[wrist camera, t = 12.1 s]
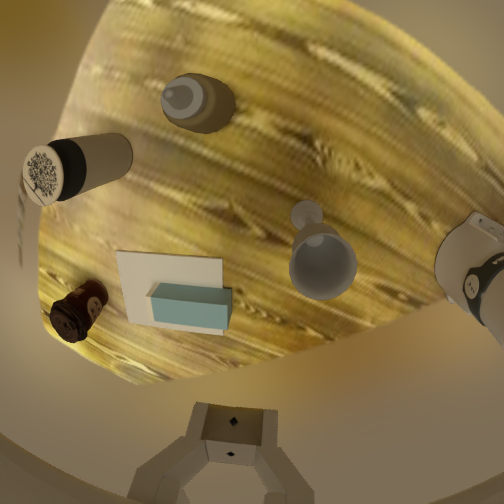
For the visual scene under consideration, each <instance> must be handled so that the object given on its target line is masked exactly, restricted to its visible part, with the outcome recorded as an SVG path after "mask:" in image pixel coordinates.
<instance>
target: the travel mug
mask: <svg viewBox="0 0 504 504" xmlns="http://www.w3.org/2000/svg"><path fill="white" fill-rule="evenodd" d="M131 162H132V150H131V146H130V144H129V142H128V141H127V140H126V138H124V137H123V136H122V135H120V134H116V133H110V134H100V135H90V136H82V137H74V138H67V139H60V140H55V141H52V142H50V143H49V144H47V145H38V146H36V147H34V148H33V149H32V150H31V151H30V152H29V154H28V155H27V157H26V160H25V163H24V167H23V181H24V185H25V189H26V191H27V193H28V195H29V197H30V198H31V199H32V200H33V201H34V202H35V203H36V204H38V205H40V206H49V205H51V204H53V203H54V202H55V201H65V200H67V199H69V198H72V197H74V196H76V195H79V194H81V193H83V192H86V191H88V190H91V189H93V188H96V187H98V186H101V185H103V184H106V183H108V182H111V181H114V180H116V179H119V178H121V177H122V176H124V175H125V174H126V173H127V171H128V170H129V168H130V166H131Z"/></svg>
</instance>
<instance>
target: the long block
mask: <svg viewBox="0 0 504 504" xmlns="http://www.w3.org/2000/svg"><path fill="white" fill-rule="evenodd" d="M145 299H146V305H147V311H148V316H149V320H150V321H157V322H164V323H171V324H179V325H186V326H194V327H203V328H212V329H221V330H228V326H229V322H230V318H231V314H232V289H223V288H211V287H200V286H189V285H179V284H169V283H160V282H155V283H154V285H153V286H152V288H151V289H150V290H149V292H148V293H147V294H146V296H145Z"/></svg>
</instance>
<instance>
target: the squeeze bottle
mask: <svg viewBox="0 0 504 504" xmlns="http://www.w3.org/2000/svg"><path fill="white" fill-rule="evenodd" d="M161 105H162V108H163V112H164V114H165V116H166V117H167V119H168V120H169V121H170V122H171V123H173V124H175V125H177V126H178V127H181V128H184V129H187V130H190V131H193V132H196V133H203V134H208V133H212V132H217V131H219V130H220V129H221V128H223V127H224V126H226V125H227V124H228V122H229V121H230V119H231V118H232V116H233V114H234V109H235V105H236V104H235V100H234V95H233V93H232V91H231V90H230V89H229V87H228V86H227V85H226V84H224V83H222V82H221V81H219V80H217V79H214V78H211V77H208V76H205V75H202V74H195V73H187V74H184V75H181V76H178V77H177V78H175V79H173V80H172V81H171V82H169V83H168V84H167V85H166V87H165V88H164V90H163V91H162V95H161Z"/></svg>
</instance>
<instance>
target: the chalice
mask: <svg viewBox="0 0 504 504" xmlns="http://www.w3.org/2000/svg"><path fill="white" fill-rule="evenodd" d="M322 220H323V212H322V209H321V207H320V206H319V205H318V204H317V203H315V202H313V201H310V200H304V201H301V202H299V203H297V204H296V205H295V206H294V207H293V209H292V212H291V221H292V224H293V225H294V226H295V227H296V228H297V229H298V230H300V231H299V232H298V233H297V235H296V236H295V238H294V241H293V245H292V257H291V260H290V263H289V274H290V277H291V280H292V283H293V285H294V286H295V287H296V289H297V290H298V291H299V292H300V293H302V294H303V295H304V296H306V297H308V298H311V299H315V300H328V299H331V298H334V297H337V296H339V295H340V294H342V293H343V292H345V291H346V290H347V288H348V287H349V286H350V285H351V284H352V282H353V280H354V277H355V275H356V270H357V260H356V255H355V252H354V251H353V249H352V247H351V245H350V244H349V243H348V242H347V241H345V240H344V239H343V238H342V237H340V235H339V234H338V232H337V231H336V230H335V229H334V228H332V227H331V226H329V225H327V224H324V223H321V222H322Z"/></svg>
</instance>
